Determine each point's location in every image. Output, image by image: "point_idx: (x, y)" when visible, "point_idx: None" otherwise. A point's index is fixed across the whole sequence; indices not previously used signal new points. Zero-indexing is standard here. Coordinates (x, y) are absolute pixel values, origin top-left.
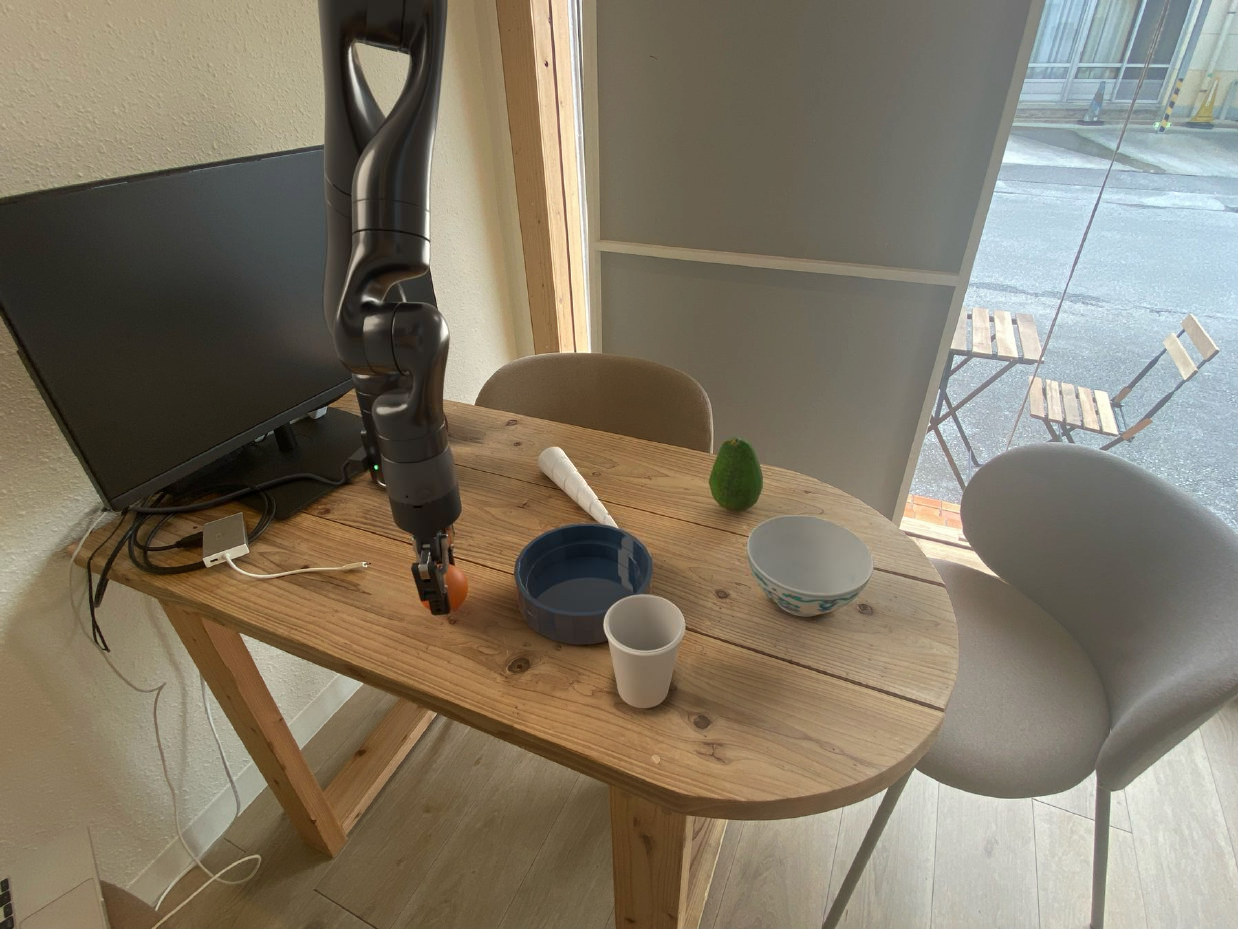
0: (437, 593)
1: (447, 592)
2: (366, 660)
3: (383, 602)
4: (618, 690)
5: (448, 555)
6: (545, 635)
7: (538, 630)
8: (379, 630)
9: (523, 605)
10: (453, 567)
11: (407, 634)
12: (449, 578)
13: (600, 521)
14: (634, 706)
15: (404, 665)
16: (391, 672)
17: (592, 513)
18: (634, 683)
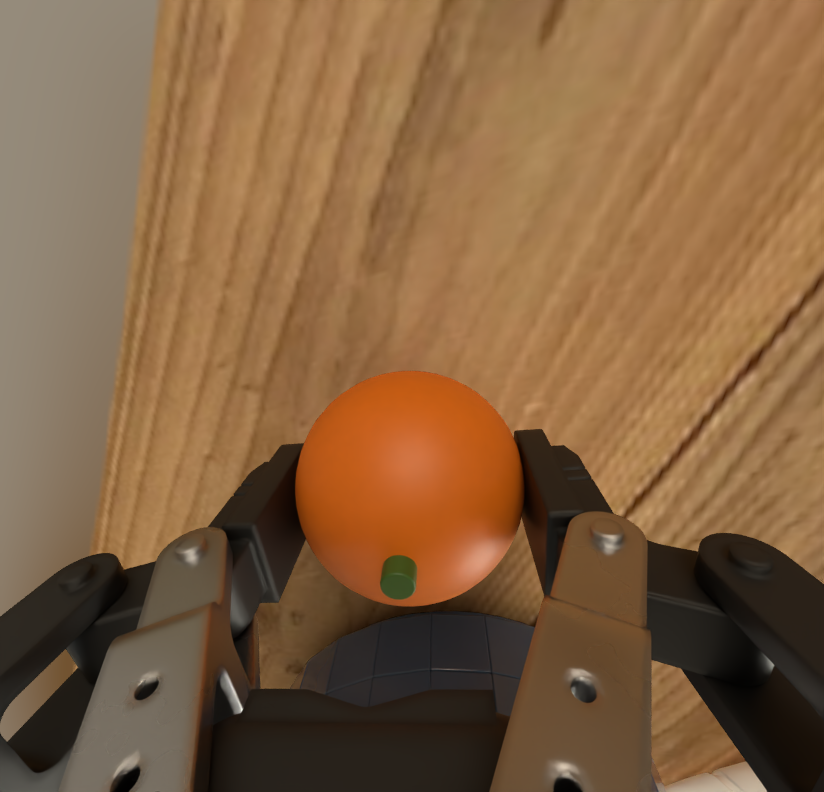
0: (47, 704)
1: (288, 574)
2: (154, 178)
3: (476, 138)
4: None
5: (544, 580)
6: (301, 673)
7: (308, 668)
8: (308, 180)
9: (336, 698)
10: (451, 595)
11: (298, 305)
12: (360, 593)
13: (749, 781)
14: None
15: (166, 331)
16: (129, 295)
17: None
18: None
